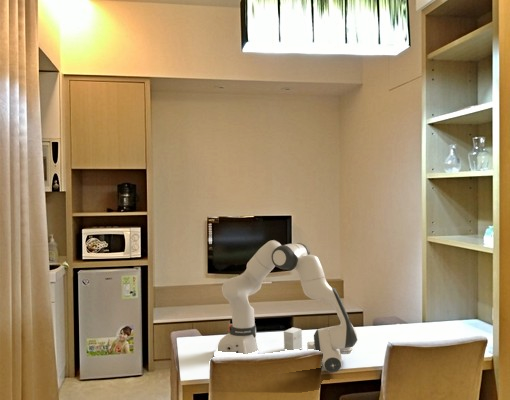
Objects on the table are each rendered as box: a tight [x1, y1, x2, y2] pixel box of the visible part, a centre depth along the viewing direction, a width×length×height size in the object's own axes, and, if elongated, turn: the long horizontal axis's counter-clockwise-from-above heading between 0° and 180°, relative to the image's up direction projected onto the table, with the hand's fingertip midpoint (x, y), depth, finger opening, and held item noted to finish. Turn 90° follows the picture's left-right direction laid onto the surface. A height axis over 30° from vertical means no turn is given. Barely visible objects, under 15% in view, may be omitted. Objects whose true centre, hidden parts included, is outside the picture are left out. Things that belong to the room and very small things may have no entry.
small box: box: [283, 326, 303, 350], centre depth 230 cm, size 8×6×10 cm
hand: (328, 341), depth 222 cm, fingers open, 4 cm apart
